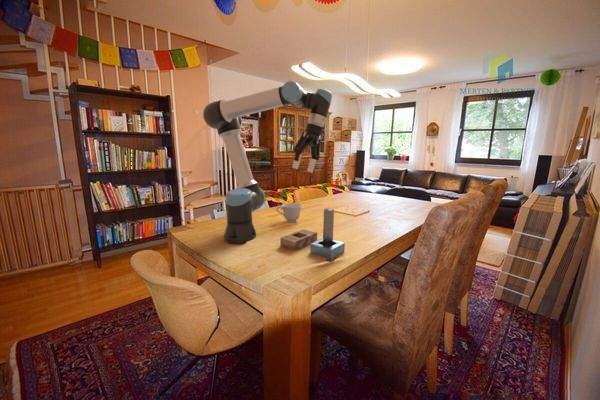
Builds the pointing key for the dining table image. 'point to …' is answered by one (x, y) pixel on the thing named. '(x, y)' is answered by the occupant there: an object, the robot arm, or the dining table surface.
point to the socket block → (327, 249)
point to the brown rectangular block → (298, 239)
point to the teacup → (290, 211)
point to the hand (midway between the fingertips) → (302, 170)
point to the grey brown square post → (328, 227)
